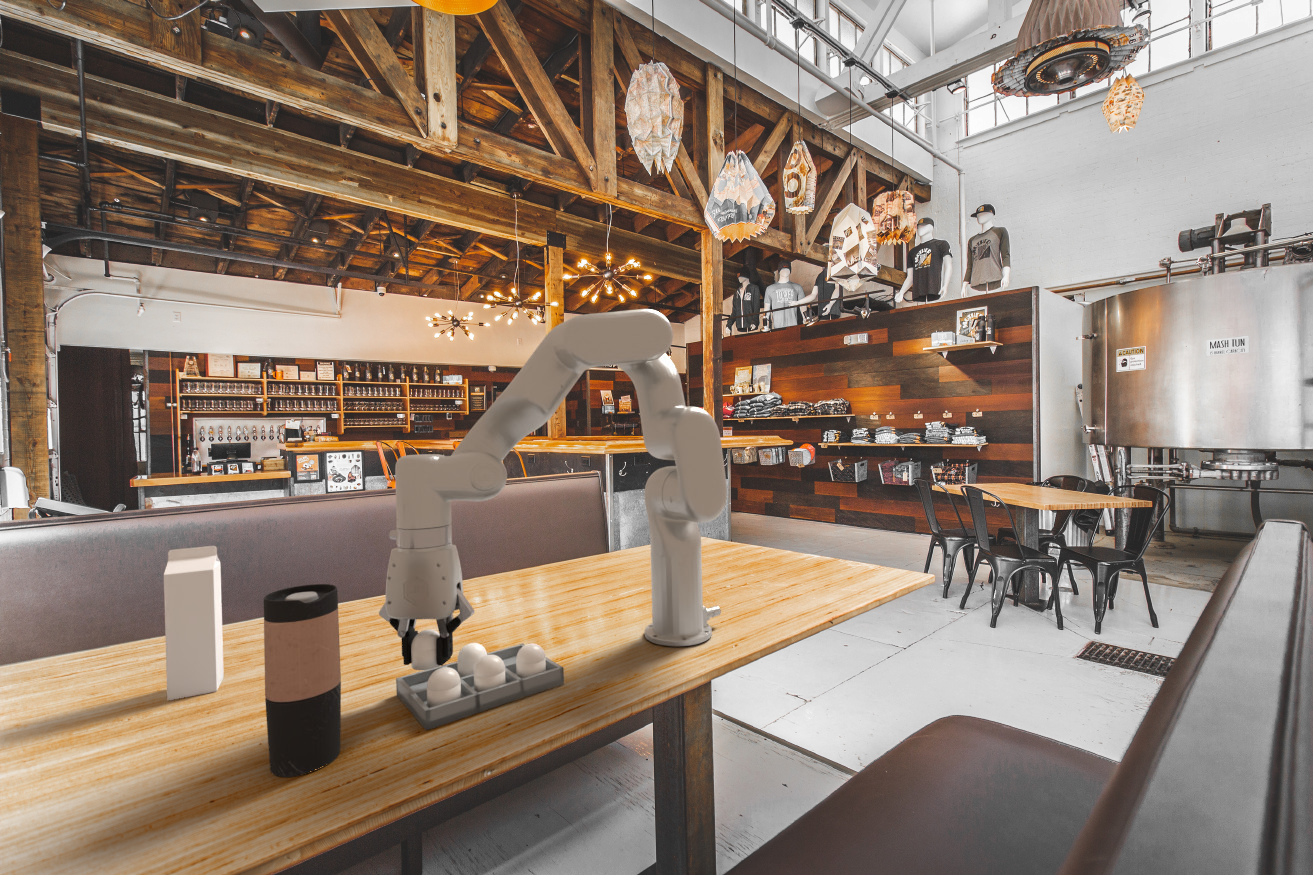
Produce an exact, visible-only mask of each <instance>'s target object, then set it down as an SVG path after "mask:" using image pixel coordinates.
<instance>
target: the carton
mask: <svg viewBox="0 0 1313 875" xmlns="http://www.w3.org/2000/svg"><path fill="white" fill-rule="evenodd" d="M456 659H457V660H456V661H454V662H449V663H445V664H443V665H442V666H438V667H436V668H433V669H428V670H419V671H417V672H413V673H411V674H407V675H403V676H399V677H396V678H395V681H396V682H395V683H396V688H395V689H396V696H397V697H398V698H399V700H400V701H401V702H402V703H403V705H404V706H405V707H406V708H407V710H408V711H409V712H410V713H411V714H412V716H414V718H415V719H416V720H417V721H418V722H419V724H420V725H421V726H422V727H423V728H424V730H425V731H429V730H431V729H435V728H439V727H440V726H444V725H447V724H450V723H453V722H456V721H459V720H461V719H465V718H467V717H470V716H472V715H474V716H475V715H477V714H479V713H483V712H485V711H488V710H492V709H494V708H497V707H499V706H500V707H501V706H503V705H506V704H510V703H512V702H515V701H518V700H520V699H523V698H526V697H529V696H533V695H535V694H538V693H541V692H543V691H547V690H550V689H553V688H557V687H558V686H563V685H564V684H565V674H564V671H565V670H564V669H565V668H564V667H563V666H562V665H560V664H559V663H556V662H555V661H553V660H551V658H549V657H546V653H545V650H544V648H543V647H542V646H541V645H539V644H537V643H533V642H532V643H527V644H524V643H520V644H516V645H512V646H509V647H506V648H501V649H497V650H494V651H490V652H487V650H486V648H485V647H484V646H483V645H482V644H481V643H478V642H470V643H467V644H466V645H464V646H463V647H462V648H461V649H460V651H459V652H458V655H457V658H456Z"/></svg>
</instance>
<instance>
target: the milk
mask: <svg viewBox="0 0 1313 875" xmlns="http://www.w3.org/2000/svg"><path fill="white" fill-rule="evenodd" d="M221 566H222V565H221V561H220V558H219V557H218V548H217V546H215V545H208V546H198V547H189V548H188V547H187V548H186V547H185V548H178V549H176V548H175V549H169V551H168V552H167V563H166V566H165V568H164V569H165V570H164V572H163V592H164V593H163V595H164V596H163V598H164V632H165V638H164V639H165V660H166V661H165V664H166V666H165V667H166V668H165V669H166V698H167V700H166V701H168V700H170V701H174V699H175V700H178V699H179V698H180V699H183V698H184V697H185V698H190V697H195V696H199V695H200V696H201V695H206V694H210V693H216V692H218V690H219V687H221V686H220V685H221V683H222V682H223V679H224V677H225V676H224V675H225V673H224V643H223V641H224V640H223V638H224V637H223V608H222V606H223V605H222V573H221V572H222V571H221V570H222V568H221Z"/></svg>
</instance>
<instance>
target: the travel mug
mask: <svg viewBox="0 0 1313 875" xmlns="http://www.w3.org/2000/svg"><path fill="white" fill-rule="evenodd" d="M338 595H339V594H338V587H337V585H334V584H329V583H327V584H326V583H316V584H303V585H298V586H291V587H287V588H282V589H280V590H279V589H278V590H275V591H273V592H270V593H268V594H267V595H264V598H263V640H264V642H263V643H264V644H263V645H264V646H263V647H264V648H263V649H264V651H263V653H264V654H263V655H264V695H265V697H264V700H265V714H266V728H267V729H266V731H267V743H268V744H267V745H268V758H269V759H268V760H269V767H270V772H271V774H272V773H273V774H272V775H274V776H275V775H276V777H279V776H280V778H293V776H294V777H299V776H298V775H300V776H302V775H301V774H304V775H306V774H305V773H308V772H310V771H314V770H315V769H318V768H320V767H322V766H325V765H326V764H328V765H330V764H331V763H332V762H334V761H335V760H336V759H337V758H338V757H339V755H340V752H341V733H342V732H341V725H342V724H341V723H342V722H341V721H342V720H341V719H342V718H341V717H342V716H341V714H342V711H341V710H342V708H341V706H342V703H341V702H342V682H341V681H342V680H341V679H342V676H341V674H342V673H341V650H340V648H341V646H340V644H341V643H340V626H339V625H340V624H339V623H340V622H339V596H338ZM329 763H330V764H329ZM326 766H327V765H326ZM326 766H325V767H326ZM318 770H319V769H318ZM314 772H315V771H314ZM308 774H309V773H308Z"/></svg>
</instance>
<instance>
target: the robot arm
mask: <svg viewBox="0 0 1313 875" xmlns="http://www.w3.org/2000/svg"><path fill="white" fill-rule="evenodd" d="M673 341H674V331H673V328H672V325H671V323H670V321H669V320H668V318H667V317H666V316H665V315H664V314H663V313H661V312H659V311H658V310H655V309H652V308H651V309H650V308H640V309H629V310H619V311H609V312H597V313H588V314H586V313H585V314H581V315H580V314H579V315H577V316H574V317H571V318H569V319H567V320H565V321H563V322H562V323H560V324H557V325H556V326H554V327H553V328H552V329H551V330H550V331H548V333H547V334H546V335H545V337H544V338H543V339H542V340H541V342H540V343H539V345H538V346H537V347H536V348H535V350H534V351H533V352H532V353H531V355H530V357H529V358H528V359H527V361H526V362H525V363H524V365H523V366H522V367H521V368H520V371H518V372H517V374H516V375H515V376H514V378H513V379H512V380H511V382H509V384H508V385H507V387H506V388H505V389H504V390H503V391H502V393H500V394H499V396H498V397H497V398H496V399H495V400H494V402H493V403H492V404H491V405H490V406H489V408H488V409H487V410H486V411H485V412H484V413H483V414H482V416H480V417H479V419H478V420H477V421H476V422H475V424H474V425H473V426H472V427H471V429H469V431H468V432H467V433H466V435H465V436H464V438H463V439H462V440H461V442H459V444H458V446H456V448H455V449H454V450H453V452H452V453H451V455H443V454H437V453H436V454H435V453H433V454H431V453H430V454H429V453H428V454H427V453H425V454H424V453H423V454H409V455H408V454H407V455H403V456H400V457H399V458H398V459H397V461H396V462H395V469H394V470H395V472H394V473H395V479H394V480H395V509H396V510H395V511H396V512H395V514H396V516H395V517H396V527H395V529H394V530H390V531H389V535H388V538H389V539H390V540H395V545H396V547H395V548H391V552H390V555H389V561H388V564H387V572H386V581H385V582H386V583H385V600H384V603H383V605H382V607H381V608H380V610H379V611H378V615H379V616H380V617H381V618H382V619H384V620H385V621H386V622H389V624H390V626H391V627H392V628H393V629H395V631H396V632H397V633H396V634H397V636H398V637H399V638H401V656H402V657H403V665H404V666H409V665H410V664H411V644H412V641H413V639H414V637H415V636H416V635H417V634H418V633H419V632H418V630H416V623H417V620H435V621H436V625H437V629H438V633H439V634H440V637H438V638H437V639H436V656H437V664H438V665H439V666H442V665H445V664H447V662H448V661H449V660H451V658H452V655H453V653H454V642H453V641H454V640H453V633H454V632H455V631H456V630H457V629H458V628H459V626H460V625H462V623H463V622H465V621H466V620H468V619H469V618H470V617H472V616H473V615H474V614H475V609H474V608H473V606H472V605H471V603H470V602H469V601H468V599H467V598H466V596H465V595H464V583H463V574H462V566H461V560H460V556H459V552H458V549H457V548H458V547H457V546H456V544H453V528H452V527H453V526H452V501H466V502H467V501H468V502H486V501H489V500H492V499H494V498H495V497H497V496H498V495H499V494H500V493H501V492H502V491H503V490H504V488H505V487H506V484H507V481H508V472H507V468H506V466H505V464H504V462H503V461H504V460H505V458H506V457H507V455H508V454H510V452H511V451H512V450H513V448H514V447H515V446H516V445H518V443H520V442H521V441H522V440H523V439H524V438H526V437H527V436H528V435H530V434H532V433H533V432H535V431H536V430H538V429H540V428H541V427H542V426H544V425H545V424H546V423H548V421H549V420H551V418H552V417H553V415H554V414H555V412H556V411H558V410H557V409H558V408H559V407H560V405H561V404H562V403H563V402H564V400H565V398H566V397H567V395H568V394H569V393H570V392H571V390H572V389H573V388H574V386H575V384H576V383H577V382H578V380H579V379H580V377H581V376H582V375H583V373H584V372H585V371H587V370H590V369H593V368H598V367H605V366H607V367H608V366H616V367H618V368H619V369H621V371H623V372H624V373H625V374H626V375H627V376H628V378H629V379H630V380H631V382H632V383H633V387H634V389H635V392H636V396H637V397H636V399H637V402H638V407H639V408H638V409H639V416H640V423H641V429H642V430H641V431H642V437H643V441H644V442H643V443H644V446H645V449H646V451H647V453H648V454H650V456H652V457H653V458H656V459H659V460H663V461H664V460H666V461H674V463H675V465H670V466H664V467H661V468H658V469H656V470H655V471H654V472H653V473H651V475H650V476H649V477H648V479H647V480H646V484H645V486H644V504H645V509H646V514H647V518H648V527H649V535H650V536H649V537H650V539H649V541H650V543H649V544H650V573H651V574H650V576H651V577H650V578H651V583H650V585H651V616H652V619H651V620H652V622H651V623H649V624H648V625H646V627H645V628H644V638H646V640H647V641H649V642H650V643H652V644H656V645H658V646H664V647H665V646H666V647H688V646H689V647H690V646H694V645H698V644H702V643H703V642H706V641H708V640H710V638H712V635H713V632H712V631H713V628H712V627H711V625H710V624H708V621H710V619H711V618H715V617H718V616H721V614H722V613H721V612H722V610H721V608H720V606H718V605H714V606H711V607H708V608H707V607H706V606H705V605H704V602H703V598H704V597H703V571H702V570H703V569H702V565H703V564H702V562H703V561H702V536H701V532H700V527H699V525H698V523H708V522H712V521H714V520H716V519H717V518H718V517H720V515H722V512H723V510H724V509H725V506H726V503H727V499H728V498H727V495H728V486H727V477H726V469H725V468H726V467H725V461H724V455H723V454H724V453H723V449H722V448H723V446H722V441H721V440H722V439H721V434H720V430H719V428H718V427H719V426H718V425H717V423H716V421H715V419H714V418H713V416H711V414H710V413H709V412H708V411H707V410H705V409H703V408H701V407H698V406H694V405H693V406H692V405H691V406H687V405H686V400H685V395H684V391H683V386H682V381H681V380H682V379H681V376H680V374H679V371H678V369H677V367H676V364H674V362H673V361H672V359H671V358H670V357H669V355H668V354H666V353H667V352H668V351H669V349H671V346H672V343H673ZM455 611H459V614H457V615H456V616H455V617H454V614H453V613H455ZM439 666H438V667H439Z"/></svg>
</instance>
